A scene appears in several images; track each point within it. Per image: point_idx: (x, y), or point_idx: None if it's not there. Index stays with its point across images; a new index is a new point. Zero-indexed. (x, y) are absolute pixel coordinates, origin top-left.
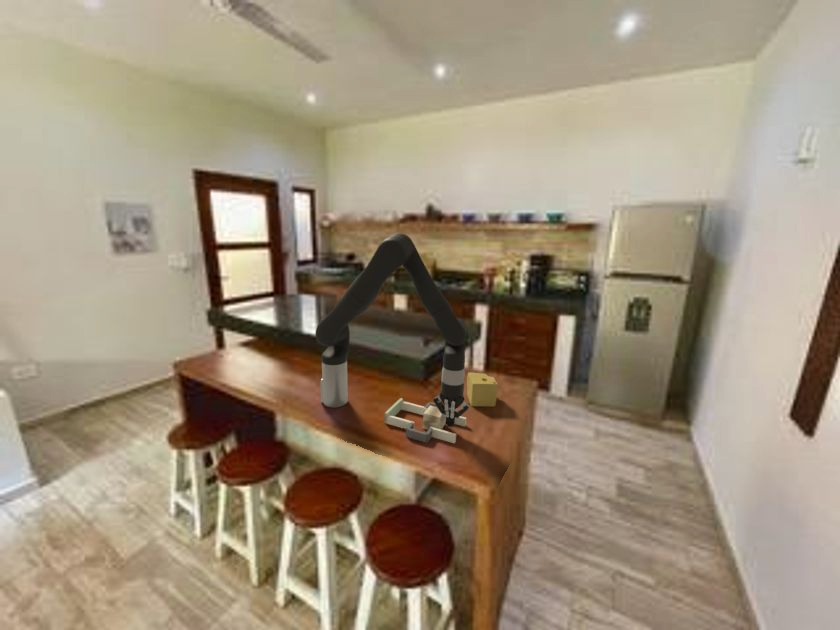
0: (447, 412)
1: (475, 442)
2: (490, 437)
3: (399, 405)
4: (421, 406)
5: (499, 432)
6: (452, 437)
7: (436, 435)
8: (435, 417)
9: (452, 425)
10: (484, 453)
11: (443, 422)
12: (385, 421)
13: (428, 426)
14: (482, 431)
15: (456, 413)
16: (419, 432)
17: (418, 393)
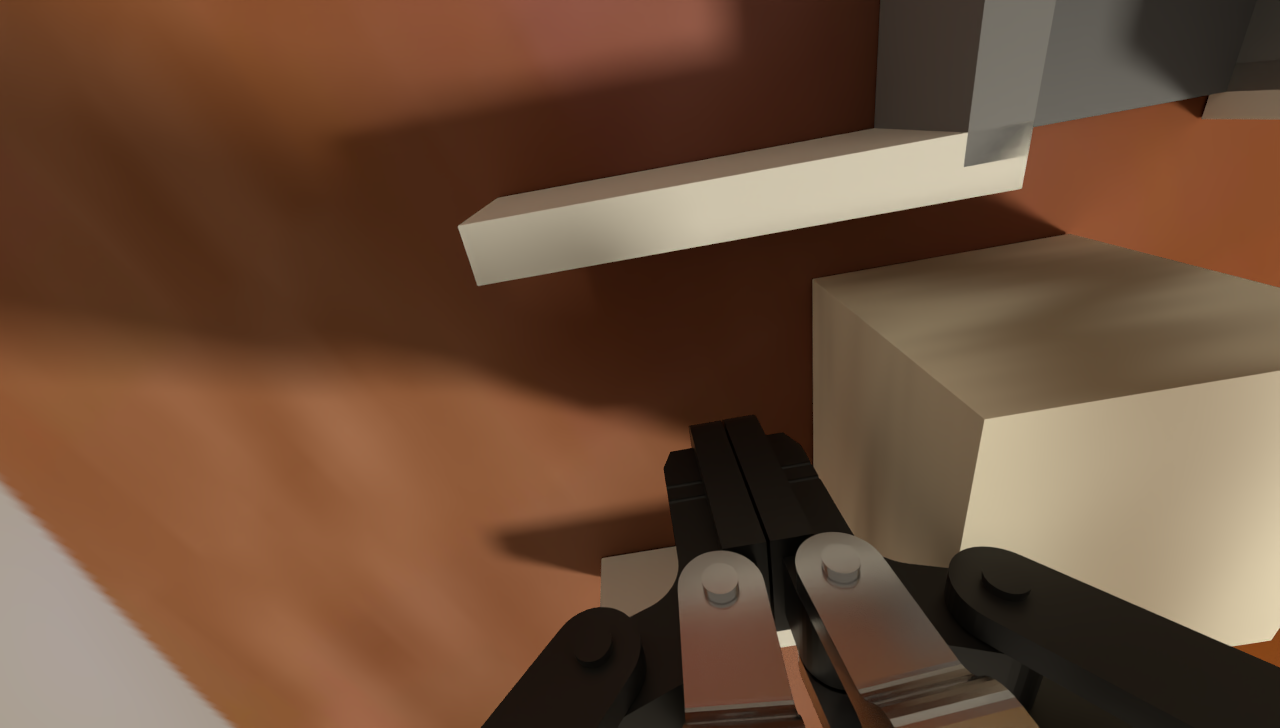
0: (879, 644)
1: (314, 394)
2: (272, 557)
3: None
4: None
5: (278, 655)
6: (522, 203)
7: (816, 143)
8: (1079, 383)
9: (677, 457)
10: (36, 257)
11: (840, 464)
12: None
13: (1025, 266)
14: (407, 589)
15: (645, 719)
16: None
17: None
